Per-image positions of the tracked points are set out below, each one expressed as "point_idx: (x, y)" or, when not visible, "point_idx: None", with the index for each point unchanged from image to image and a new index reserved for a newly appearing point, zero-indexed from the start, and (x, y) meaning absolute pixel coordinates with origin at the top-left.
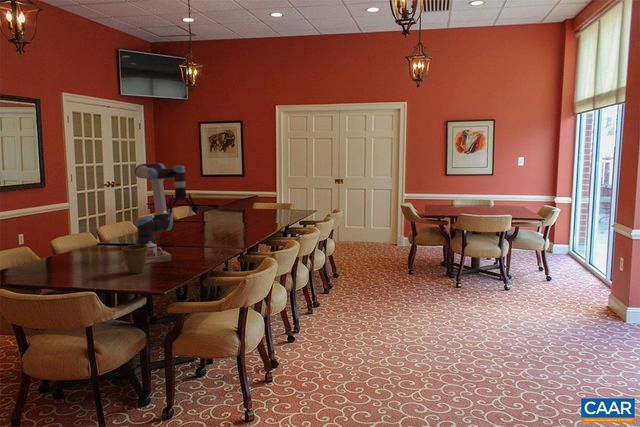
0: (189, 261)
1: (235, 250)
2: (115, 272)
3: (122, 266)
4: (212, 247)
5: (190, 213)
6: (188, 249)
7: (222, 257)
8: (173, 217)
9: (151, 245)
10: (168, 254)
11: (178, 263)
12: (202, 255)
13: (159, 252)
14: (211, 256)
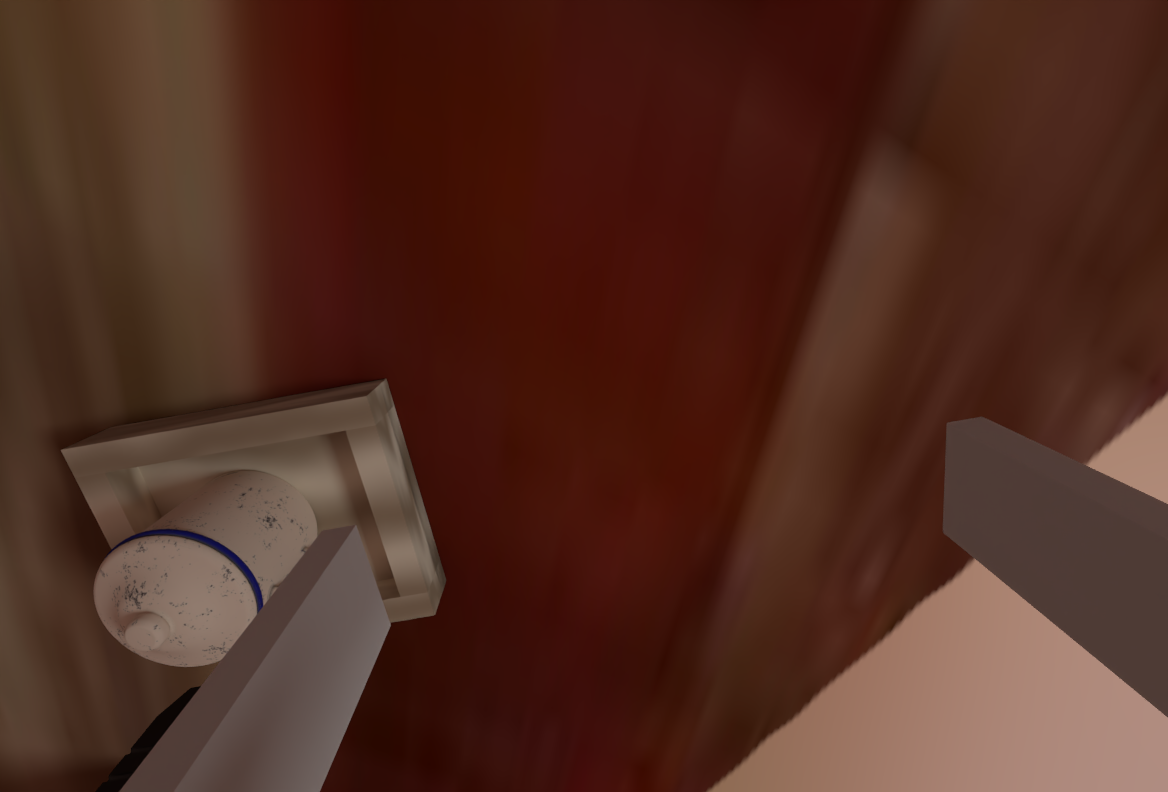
0: (576, 663)
1: (1061, 448)
2: (37, 748)
3: (47, 608)
4: (952, 181)
5: (1005, 554)
6: (682, 155)
7: (842, 645)
8: (386, 632)
9: (191, 657)
10: (409, 594)
11: (487, 686)
12: (727, 513)
13: (328, 431)
14: (780, 579)
